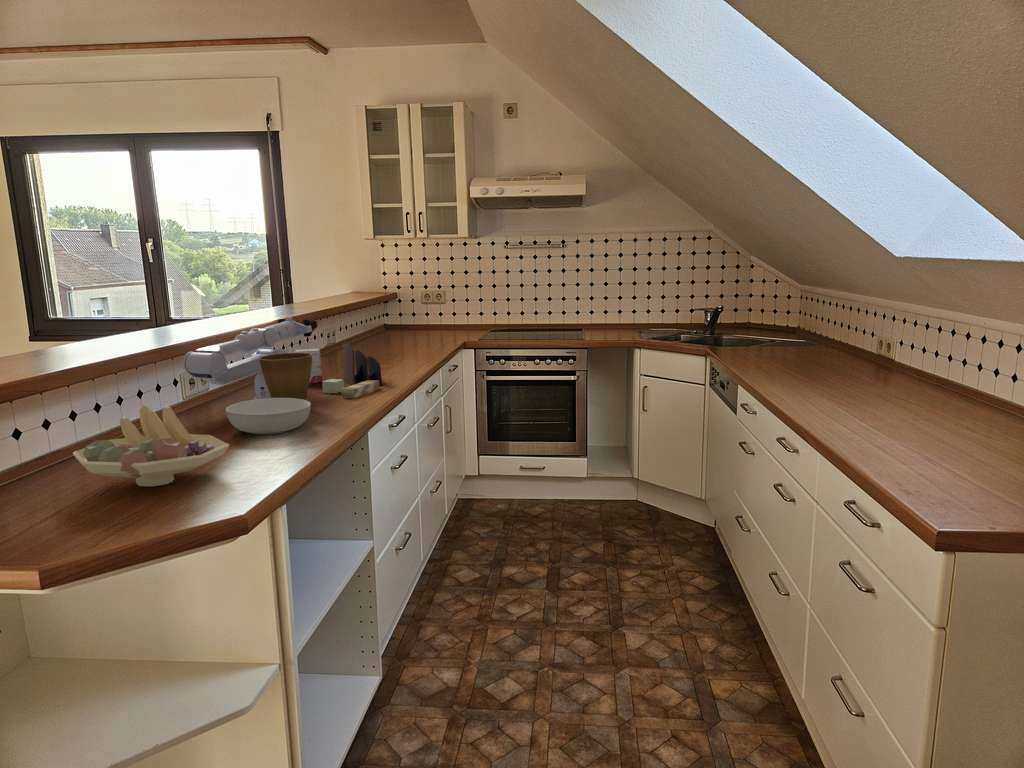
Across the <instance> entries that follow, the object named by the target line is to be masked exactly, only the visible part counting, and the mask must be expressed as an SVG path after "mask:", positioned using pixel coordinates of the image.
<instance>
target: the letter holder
mask: <svg viewBox="0 0 1024 768" xmlns="http://www.w3.org/2000/svg"><path fill="white" fill-rule="evenodd" d="M342 378H343V379H342V380H344V381H346V382H347V383H348V384H349V386H352V385H355V384H358V383H361V382H364V381H367V380H377V381H379V387H380V385H382V386H383V378H382V368H381V364H380V362H379V360H377V359H376V358H375V357H374V356H371V355H369V356H366V354H365V353H364V352H362V351H361V350H354V348H353V347H352V345H350V343H343V344H342Z"/></svg>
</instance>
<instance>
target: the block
mask: <svg viewBox="0 0 1024 768" xmlns="http://www.w3.org/2000/svg"><path fill="white" fill-rule="evenodd" d="M342 388H345V380H344V379H340V378H339V379H336V378H330V379H326V380H322V393H323V392H324V393H323V394H331V393H337V394H339V393H338V392H340V393H342V392H341V389H342Z"/></svg>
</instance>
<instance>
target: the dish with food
mask: <svg viewBox="0 0 1024 768" xmlns="http://www.w3.org/2000/svg"><path fill="white" fill-rule="evenodd" d="M139 419H140V420H139V421H140V425H141V429H142V432H143V434H144V435H142V434H141V432H140V431H139V430H138V428H137V427H136V425H135V424H134V423H133V422H132V421H131V420H130V419H129V417H127V416H126V417H124V416H122V417H121V418H120V419H119V424H120V430H121V432H122V433H123V436H124V437H123V438H115V439H113V438H112V439H108V440H106V439H98V440H94V441H93V442H91V443H89V444H87V445H86V446H85V447H84V448H80V449H78V450H75V451H73V452H72V454H73V456H74V457H75V459H76V460H77V462H79V463H80V464H81V465H82V466H83V467H84V468H85V469H86V471H88V472H89V473H90V474H91V473H92V474H95V475H99V476H104V477H109V478H110V477H111V478H112V477H113V478H114V477H115V478H135V483H136V484H137V485H138V487H156V486H163V485H168V484H169V483H173V482H174V481H175V476H174V475H175V474H180V473H185V472H186V473H187V472H189V471H192V470H194V469H196V468H199V467H200V466H202V465H204V464H206V463H209V462H211V461H213V460H215V459H216V458H219V457H220V456H221V457H222V455H224V454H225V453H226V451H227V450H228V448H229V447H230V444H229V443H227V442H225V441H223V440H221V439H219V438H217V437H215V436H212V435H211V434H194V433H193V434H191V433H189V432H188V430H187V429H186V428H185V426H184V425H183V424H182V422H181V420H179V418H178V416H177V414H175V412H174V410H173V409H172V407H171V406H168V405H166V406H165V407H164V408H163V409H162V420H161V418H160V417H159V415H158V414H157V413H156V412H155V411H153V410H151V409H150V408H149V406H147V405H145V404H143V405H142V406H141V407H140V408H139ZM173 480H174V481H173Z"/></svg>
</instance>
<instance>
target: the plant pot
mask: <svg viewBox="0 0 1024 768" xmlns="http://www.w3.org/2000/svg"><path fill="white" fill-rule="evenodd" d="M259 360H260V365H261V369H262V372H263V376H264V379H265V382H266V385H267V388H268V390H269V393H270V395H271V398H296V399H303V400H306V399H307V396H308V391H309V388H310V387H309V386H310V383H309V382H310V376H311V367H312V354H310V353H294V352H288V353H283V354H273V355H267V356H262V357H260V358H259Z"/></svg>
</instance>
